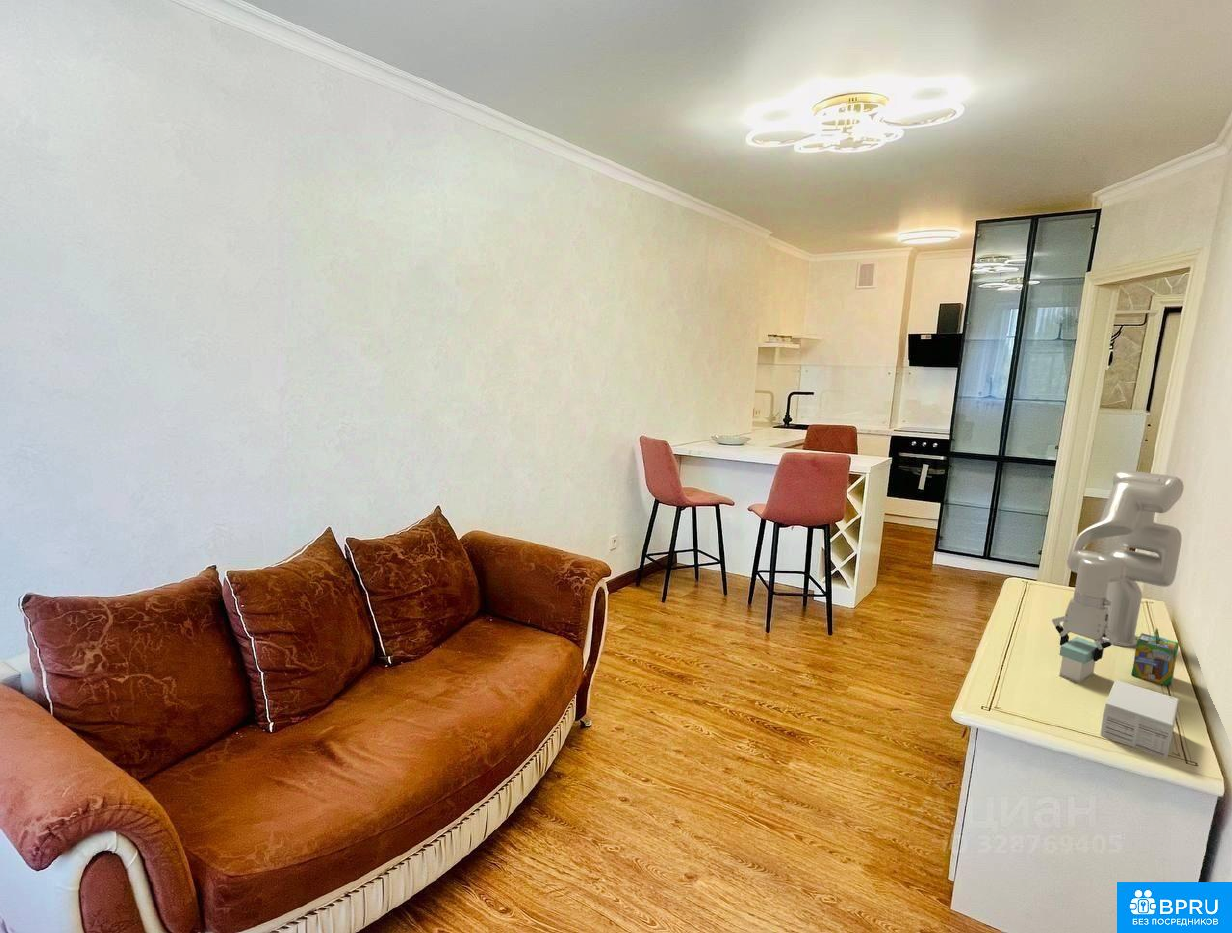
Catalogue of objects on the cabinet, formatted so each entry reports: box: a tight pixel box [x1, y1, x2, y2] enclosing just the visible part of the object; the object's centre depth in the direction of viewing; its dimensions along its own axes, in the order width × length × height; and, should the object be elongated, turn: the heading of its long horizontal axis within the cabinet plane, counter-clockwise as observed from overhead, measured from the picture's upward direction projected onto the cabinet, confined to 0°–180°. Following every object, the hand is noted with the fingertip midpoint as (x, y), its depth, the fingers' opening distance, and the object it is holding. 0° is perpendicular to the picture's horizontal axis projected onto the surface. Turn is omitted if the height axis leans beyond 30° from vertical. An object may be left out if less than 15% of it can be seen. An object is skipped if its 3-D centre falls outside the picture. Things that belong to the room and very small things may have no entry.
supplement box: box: [1100, 679, 1180, 760], centre depth 157 cm, size 17×13×9 cm
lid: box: [1059, 636, 1097, 664], centre depth 186 cm, size 12×6×4 cm, turn 124°
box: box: [1058, 656, 1096, 684], centre depth 187 cm, size 11×5×6 cm, turn 124°
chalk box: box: [1131, 627, 1180, 687], centre depth 186 cm, size 9×9×15 cm
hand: (1079, 653), depth 186 cm, fingers open, 7 cm apart
